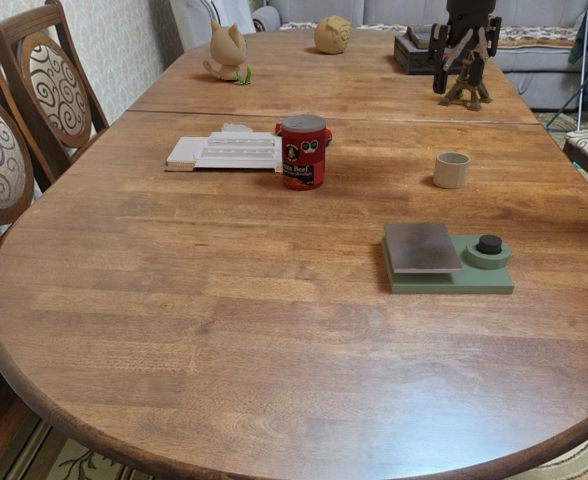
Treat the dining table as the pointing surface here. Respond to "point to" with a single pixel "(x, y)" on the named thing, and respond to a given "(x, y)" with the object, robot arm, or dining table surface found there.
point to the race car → (278, 132)
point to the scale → (474, 280)
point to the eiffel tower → (463, 84)
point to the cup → (451, 170)
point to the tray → (230, 149)
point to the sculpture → (332, 34)
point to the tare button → (489, 244)
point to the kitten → (227, 52)
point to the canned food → (303, 151)
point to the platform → (421, 248)
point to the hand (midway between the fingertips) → (456, 89)
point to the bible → (420, 51)
